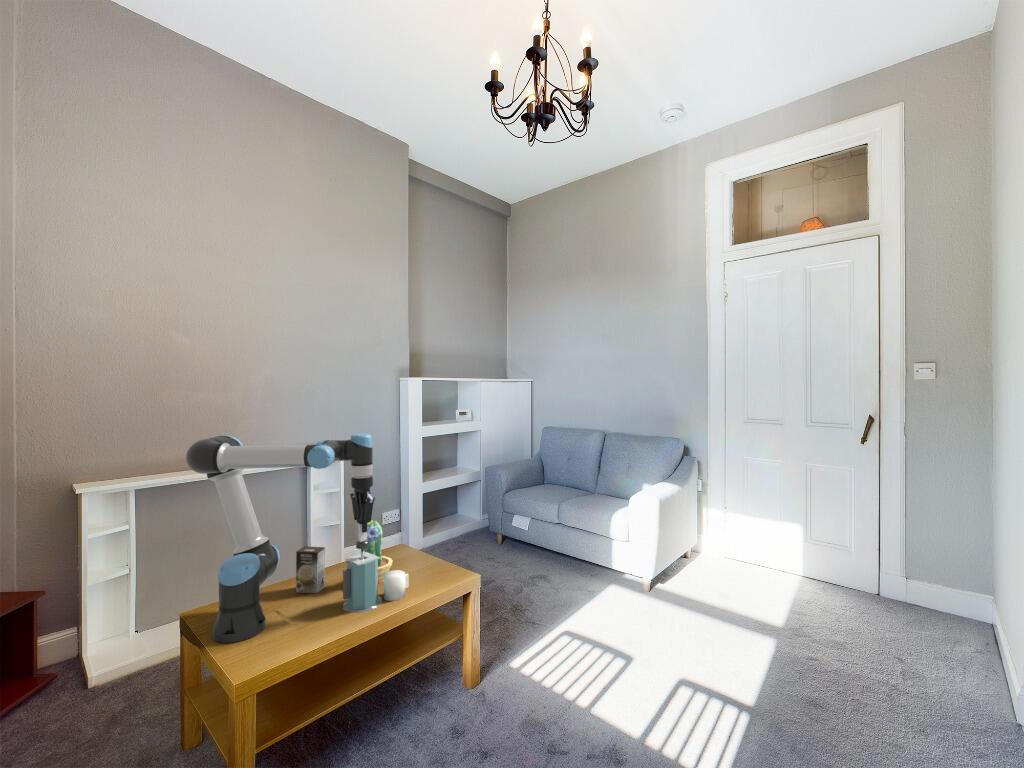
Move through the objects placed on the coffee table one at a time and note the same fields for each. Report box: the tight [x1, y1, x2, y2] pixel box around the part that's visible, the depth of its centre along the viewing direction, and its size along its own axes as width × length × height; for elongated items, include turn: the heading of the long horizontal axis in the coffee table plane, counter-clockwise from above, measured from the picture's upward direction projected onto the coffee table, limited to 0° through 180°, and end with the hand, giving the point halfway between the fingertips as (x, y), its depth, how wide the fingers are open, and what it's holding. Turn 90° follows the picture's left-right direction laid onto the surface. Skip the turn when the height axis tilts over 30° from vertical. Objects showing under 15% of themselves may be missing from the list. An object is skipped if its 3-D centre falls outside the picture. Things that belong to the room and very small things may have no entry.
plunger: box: [355, 540, 369, 560], centre depth 171 cm, size 8×8×16 cm
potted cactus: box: [364, 519, 393, 584], centre depth 191 cm, size 15×15×25 cm
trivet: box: [342, 595, 384, 613], centre depth 171 cm, size 14×14×1 cm
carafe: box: [342, 551, 380, 610], centre depth 170 cm, size 12×10×16 cm
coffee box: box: [295, 545, 326, 594], centre depth 185 cm, size 9×6×16 cm
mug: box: [383, 569, 410, 602], centre depth 177 cm, size 10×8×9 cm
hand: (362, 540), depth 171 cm, fingers closed
